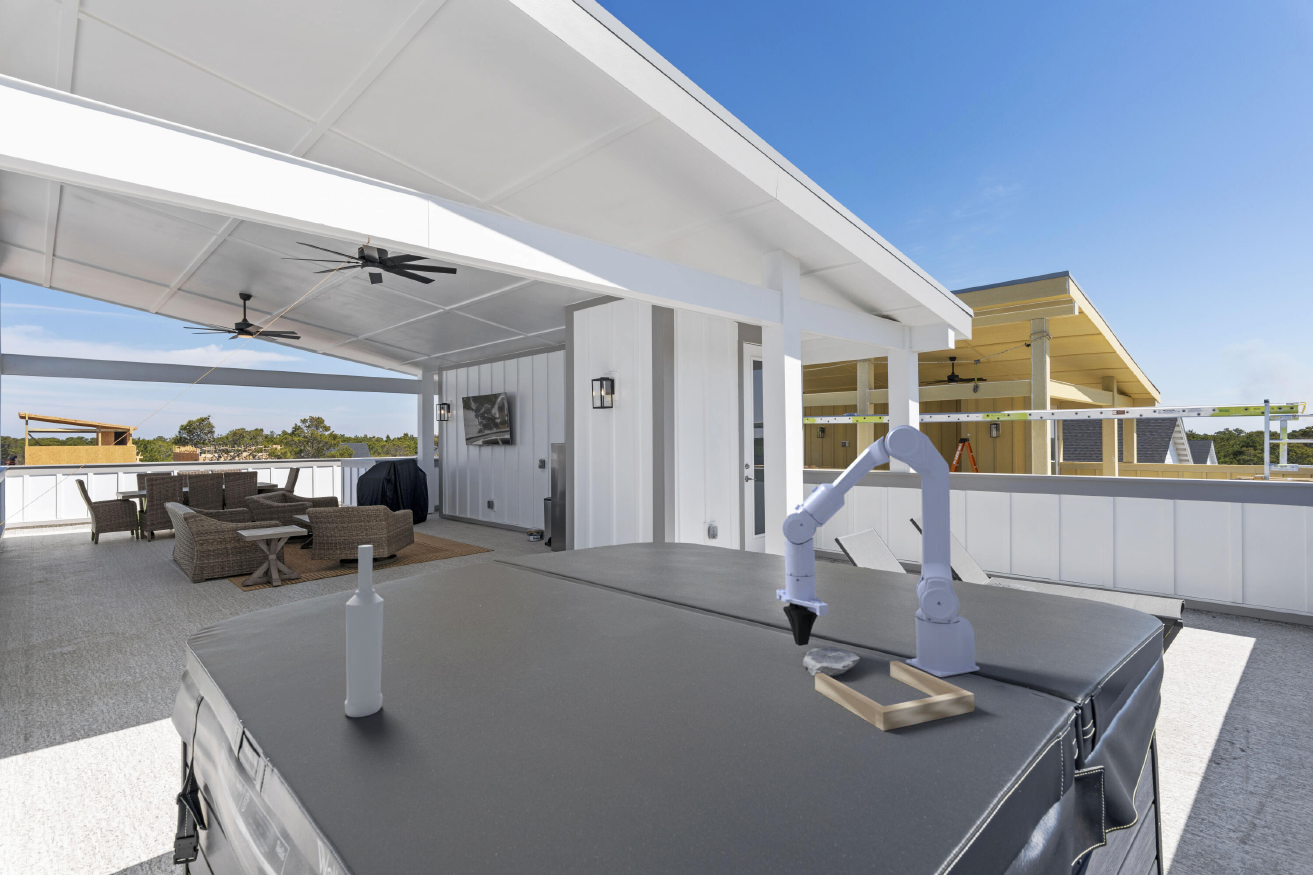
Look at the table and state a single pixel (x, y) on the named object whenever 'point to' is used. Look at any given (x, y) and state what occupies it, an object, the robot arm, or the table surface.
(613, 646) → the table surface
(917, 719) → the bay
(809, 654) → the fossil
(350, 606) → the bottle
